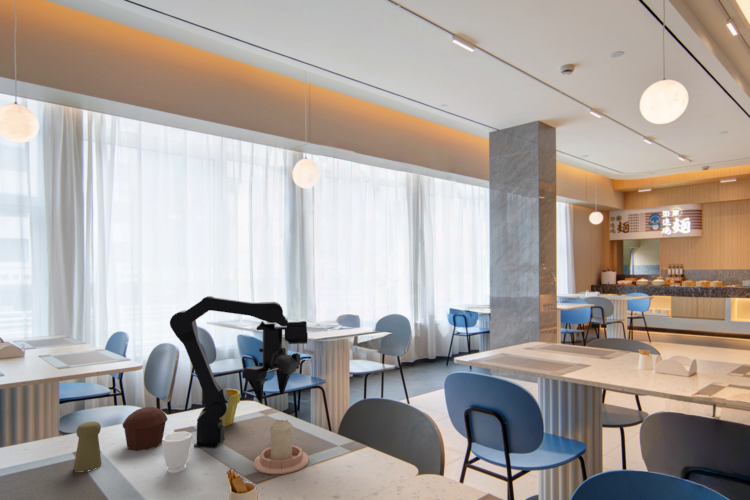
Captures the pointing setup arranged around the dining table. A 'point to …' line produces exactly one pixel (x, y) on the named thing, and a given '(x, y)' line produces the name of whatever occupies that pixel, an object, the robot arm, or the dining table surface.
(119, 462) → the dining table surface
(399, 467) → the dining table surface
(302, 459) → the candle dish
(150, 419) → the muffin
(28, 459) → the dining table surface
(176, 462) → the cup
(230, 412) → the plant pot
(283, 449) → the candle
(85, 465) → the cork
